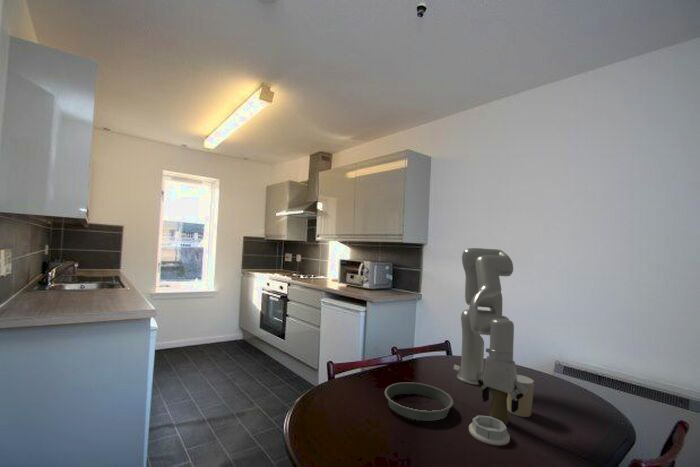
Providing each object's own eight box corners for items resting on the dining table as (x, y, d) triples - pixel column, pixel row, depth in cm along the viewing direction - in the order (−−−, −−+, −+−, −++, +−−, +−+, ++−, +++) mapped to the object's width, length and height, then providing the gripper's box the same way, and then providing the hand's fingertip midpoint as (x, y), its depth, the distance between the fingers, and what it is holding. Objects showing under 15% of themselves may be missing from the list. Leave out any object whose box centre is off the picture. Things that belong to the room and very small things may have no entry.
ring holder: (461, 432, 106) (462, 421, 106) (479, 420, 114) (479, 410, 114) (500, 450, 97) (500, 438, 98) (516, 436, 106) (516, 425, 106)
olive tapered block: (510, 426, 112) (511, 392, 112) (491, 423, 113) (492, 390, 114) (505, 417, 118) (506, 385, 118) (487, 414, 119) (488, 383, 120)
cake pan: (464, 409, 123) (465, 397, 123) (430, 433, 105) (431, 419, 105) (407, 387, 139) (408, 376, 140) (370, 405, 121) (371, 392, 122)
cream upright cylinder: (530, 408, 126) (531, 376, 126) (535, 420, 117) (536, 385, 118) (503, 403, 129) (504, 372, 129) (506, 414, 120) (507, 380, 121)
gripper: (472, 350, 120) (470, 399, 119) (523, 364, 108) (522, 419, 106) (481, 347, 125) (480, 394, 124) (531, 360, 113) (530, 412, 112)
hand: (499, 405), depth 115 cm, fingers open, 9 cm apart
